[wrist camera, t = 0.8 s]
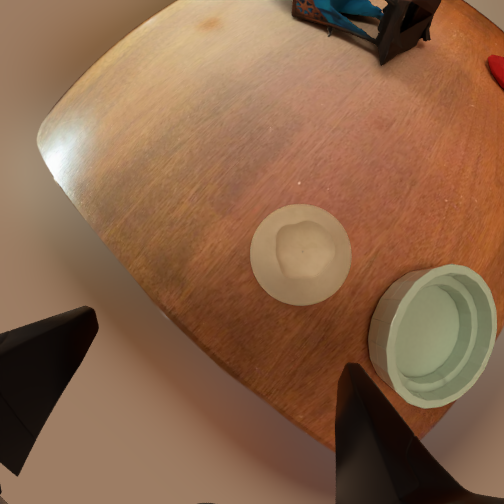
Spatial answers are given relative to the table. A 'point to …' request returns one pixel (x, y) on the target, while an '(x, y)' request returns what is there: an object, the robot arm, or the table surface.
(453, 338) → the bowl
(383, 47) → the lantern
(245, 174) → the table surface
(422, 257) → the table surface
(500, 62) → the gemstone
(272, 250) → the candle
